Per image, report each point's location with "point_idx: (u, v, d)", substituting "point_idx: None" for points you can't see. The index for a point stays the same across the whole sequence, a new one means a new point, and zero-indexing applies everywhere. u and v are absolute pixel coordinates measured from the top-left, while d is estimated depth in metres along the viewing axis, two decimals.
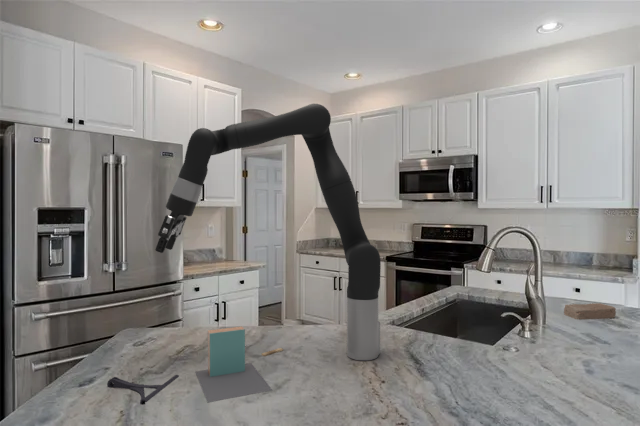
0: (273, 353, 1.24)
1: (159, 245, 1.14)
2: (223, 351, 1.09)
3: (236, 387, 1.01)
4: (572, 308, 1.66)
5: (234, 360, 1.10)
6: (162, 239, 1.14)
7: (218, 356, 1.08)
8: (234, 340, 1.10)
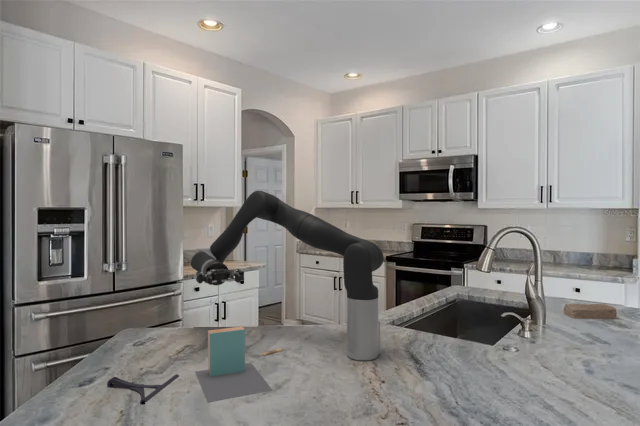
0: (273, 353, 1.24)
1: (206, 281, 1.23)
2: (223, 351, 1.09)
3: (236, 387, 1.01)
4: (569, 307, 1.68)
5: (234, 360, 1.10)
6: (204, 279, 1.25)
7: (218, 356, 1.08)
8: (234, 340, 1.10)
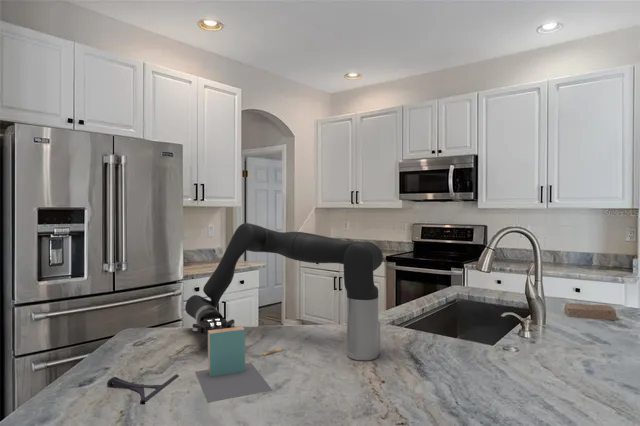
0: (273, 353, 1.24)
1: None
2: (223, 351, 1.09)
3: (236, 387, 1.01)
4: (566, 306, 1.70)
5: (234, 360, 1.10)
6: None
7: (218, 356, 1.08)
8: (234, 340, 1.10)
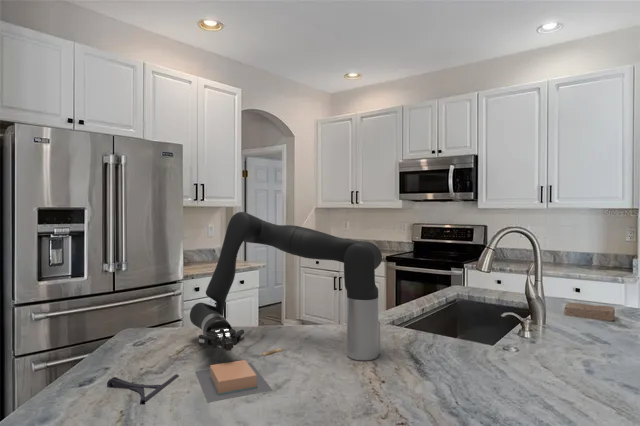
0: (273, 353, 1.24)
1: (222, 346, 1.09)
2: None
3: None
4: (566, 305, 1.72)
5: None
6: (220, 343, 1.11)
7: None
8: None
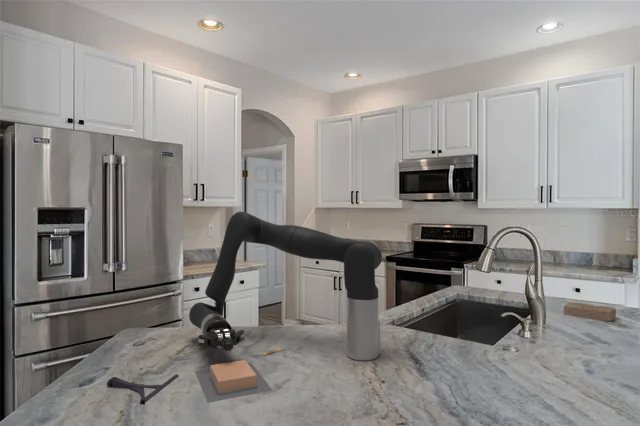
0: (273, 353, 1.24)
1: (221, 346, 1.09)
2: None
3: None
4: None
5: None
6: (219, 344, 1.10)
7: None
8: None
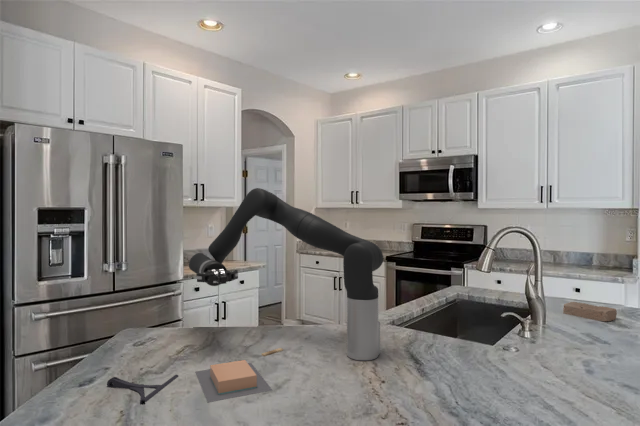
0: (273, 353, 1.24)
1: (217, 280, 1.21)
2: None
3: None
4: None
5: None
6: (216, 279, 1.23)
7: None
8: None
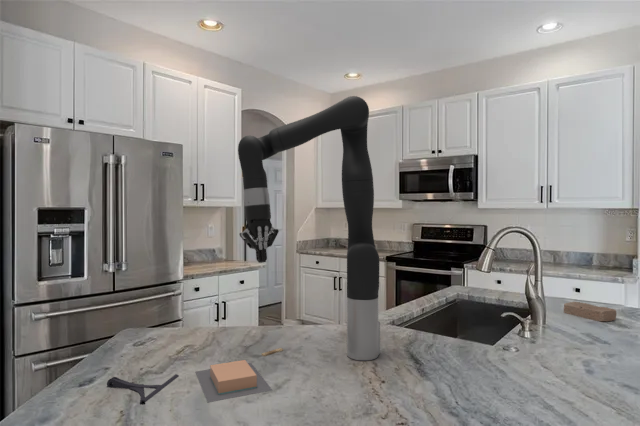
0: (273, 353, 1.24)
1: (257, 256, 1.25)
2: None
3: None
4: None
5: None
6: (256, 250, 1.25)
7: None
8: None
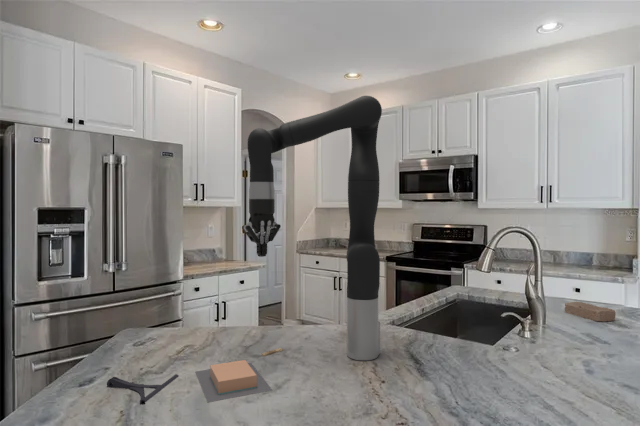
0: (273, 353, 1.24)
1: (257, 250, 1.25)
2: None
3: None
4: None
5: None
6: (257, 244, 1.24)
7: None
8: None
